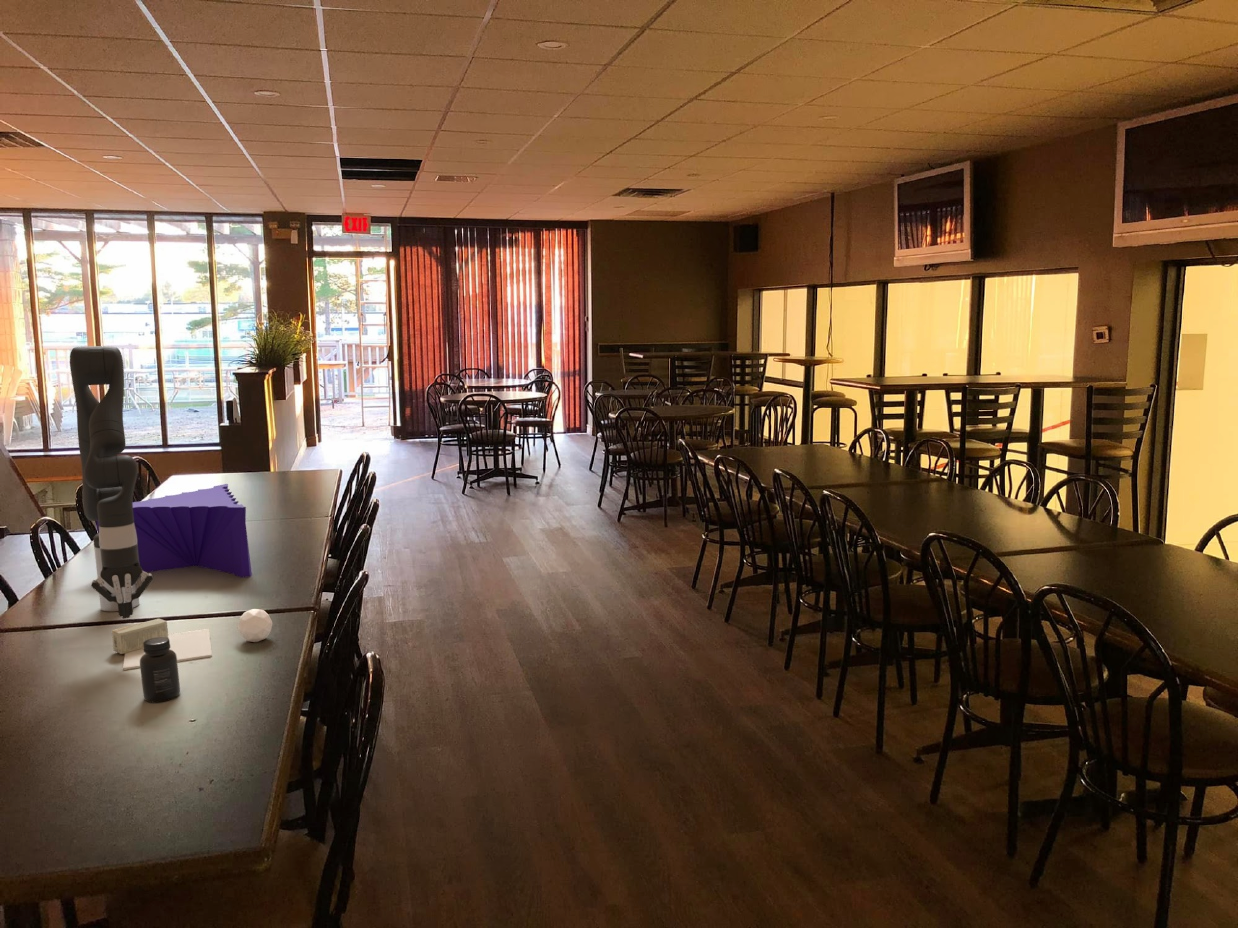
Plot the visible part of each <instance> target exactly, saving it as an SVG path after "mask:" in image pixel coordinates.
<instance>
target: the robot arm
mask: <svg viewBox="0 0 1238 928" xmlns="http://www.w3.org/2000/svg"><path fill="white" fill-rule="evenodd" d="M69 368H70V374H71V375H70V376H71V381H72V382H71V383H72V386H73V393H74V399H75V405H76V407H75V409H76V421H77V422H76V423H77V425H76V426H77V440H78V448H79V455H80V463H81V471H82V473H81V474H82V478H81V479H82V483H81V484H82V508H83V509H82V510H83V513H84V516H85V518H86V519H87V520H89V521H91V522H96V521H99V533H98V532H97V533H96V534H94V536H93V548H94V549H93V550H94V559H95V565H96V567H95V569H96V577H97V578H96V579H93V580H92V581H91V587H92V588H93V589H94V590H95V591H96V592H97V593H98V594H99V595H98V597H99V604H100V605H99V606H100V610H101V611H102V612H118V617H122V620H123V619H124V620H125V619H130V618H131V616H132V615H133V613H134V608H136V607H138V606H140V597H141V596H142V595H143V593H144V591H145V590H146V589H147V587H148V586H149V584H150V583H151V582H152V581H153V577H154V575H153V573H152V572H144V571H143V569H142V567H141V565H140V563H139V554H138V544H137V534H136V529H135V525H134V516H133V500H134V499H133V498H134V490H135V486H136V483H137V478H138V472H139V468H138V467H139V466H138V463H137V461H136V460H135V458H133V457H132V456H130V455H127V454H123V455H119V454H121V453H123V451H125V449H126V443H127V442H126V437H125V435H126V434H125V427H124V417H123V416H124V413H123V411H124V409H123V408H124V396H125V369H124V368H125V366H124V360H123V355H122V352H121V351H120V349H119V348H118V347H117V346H112V345H111V346H110V345H102V346H101V345H99V346H98V345H97V346H96V345H90V346H87V345H85V346H76V347H73V348H72V349H71V350H70V354H69ZM99 385H100V386H104V385H106V386H107V385H108V389H107V391H106V393H105V394H104V396H103V397H102V398H101V400H100V401H99V400H97V398H96V396H95V395H94V393H93V391H92V390H91V388H90V386H99ZM140 576H141V577H140ZM139 578H140V581H141V582H140V584H139V585H138V579H139Z"/></svg>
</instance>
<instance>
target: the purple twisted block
mask: <svg viewBox="0 0 1238 928" xmlns="http://www.w3.org/2000/svg"><path fill="white" fill-rule="evenodd" d="M234 496H235V494H232V491H230V488H229V484H228V483H223V484H219V485H214V486H213V487H210V488H200V489H197V490H194V491H187V492H185V491H184V492H181V493H177V494H171V495H164V496H161V497H156V498H147V499H146V500H141V501H134V502H133V516H134V525H135V529H136V534H137V544H138V554H139V563H140V565H141V567H142V569H143V571H144V572H146V573H152V572H153V573H154V572H160V571H165V570H173V569H174V570H175V569H182V568H188V567H200V568H205V569H208V570H214V571H217V572H222V573H228V574H232V575H234V576H235V577H239V578H250V577H251V576H253V572H252V565H251V557H250V548H249V540H248V533H247V524H246V522H247V521H246V519H247V518H246V517H247V513H246V512H247V511H246V510H247V507H246V506H244V505H243V504H242V503H241V504H239V502H240V501H239V500H237V497H234ZM236 500H237V501H236ZM95 522H96V531H97V534H98V533H99V521H95Z"/></svg>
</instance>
